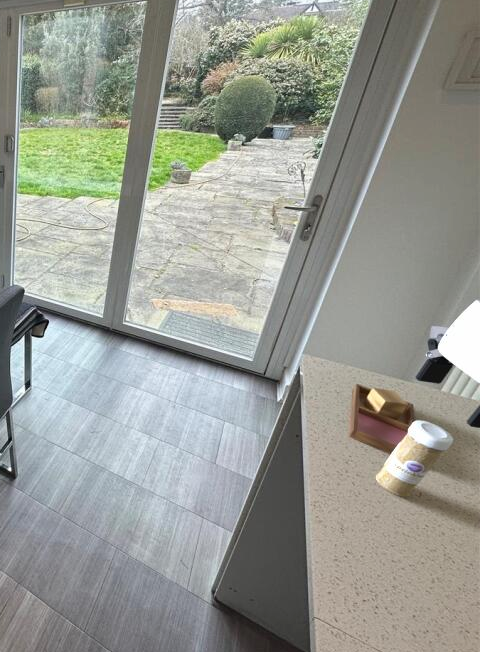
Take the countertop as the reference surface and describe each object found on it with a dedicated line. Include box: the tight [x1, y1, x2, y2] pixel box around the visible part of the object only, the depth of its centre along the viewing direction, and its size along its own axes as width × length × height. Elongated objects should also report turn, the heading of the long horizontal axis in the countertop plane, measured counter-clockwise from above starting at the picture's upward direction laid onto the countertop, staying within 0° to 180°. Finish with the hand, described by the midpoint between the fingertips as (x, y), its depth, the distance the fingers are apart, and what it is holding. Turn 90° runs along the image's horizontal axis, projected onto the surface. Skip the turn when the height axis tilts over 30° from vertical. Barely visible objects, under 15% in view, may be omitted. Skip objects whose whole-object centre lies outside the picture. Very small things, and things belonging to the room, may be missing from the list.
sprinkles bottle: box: [375, 420, 454, 498], centre depth 68 cm, size 5×5×14 cm
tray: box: [348, 383, 416, 455], centre depth 83 cm, size 9×18×2 cm, turn 138°
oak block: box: [364, 387, 408, 419], centre depth 85 cm, size 4×4×4 cm
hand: (451, 402), depth 62 cm, fingers open, 9 cm apart
